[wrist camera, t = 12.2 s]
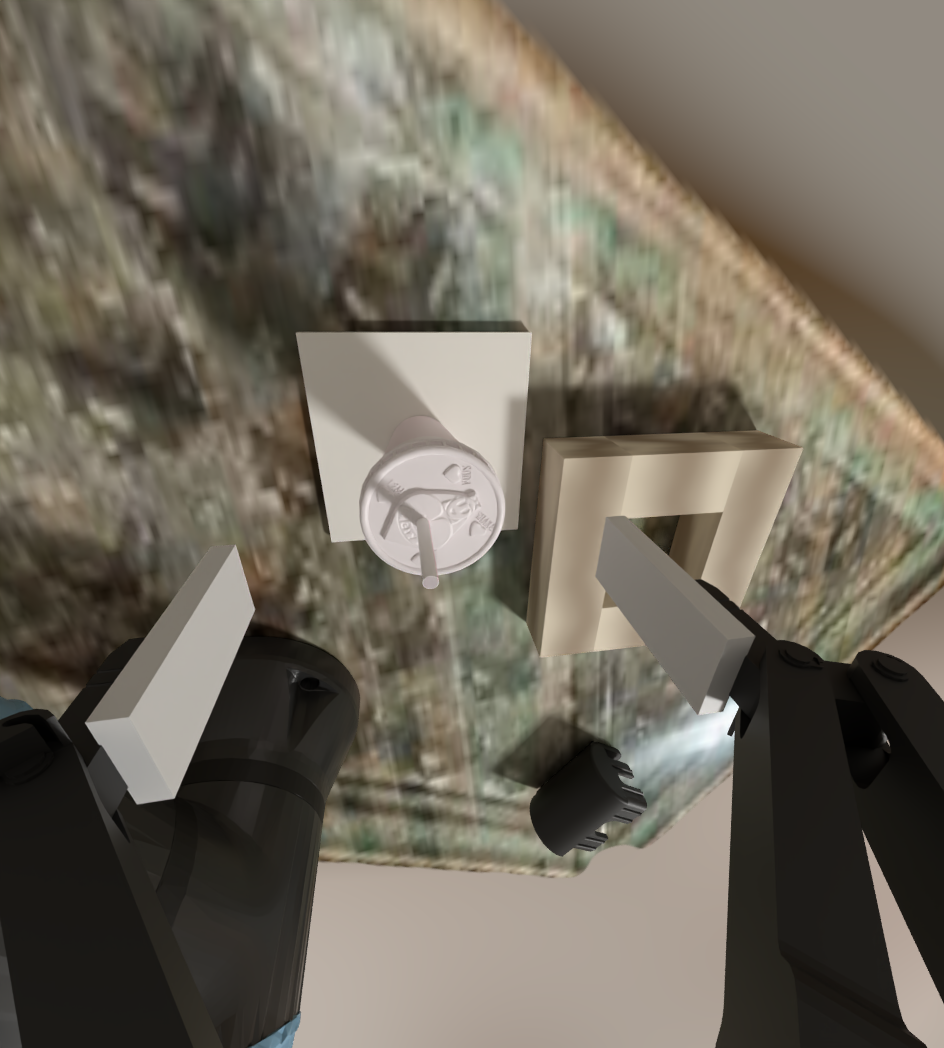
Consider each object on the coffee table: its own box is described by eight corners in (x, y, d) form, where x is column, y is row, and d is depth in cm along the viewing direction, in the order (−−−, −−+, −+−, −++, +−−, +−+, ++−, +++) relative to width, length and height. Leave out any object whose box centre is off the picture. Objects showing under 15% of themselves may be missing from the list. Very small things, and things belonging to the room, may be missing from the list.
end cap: (579, 730, 45) (607, 797, 39) (623, 747, 47) (656, 811, 41) (520, 784, 48) (538, 853, 42) (565, 797, 50) (587, 863, 45)
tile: (332, 537, 29) (331, 542, 29) (297, 331, 23) (295, 332, 22) (515, 525, 31) (517, 529, 31) (529, 331, 25) (531, 332, 24)
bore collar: (526, 622, 36) (540, 657, 32) (543, 438, 28) (564, 458, 25) (698, 604, 38) (728, 635, 35) (757, 430, 30) (803, 447, 27)
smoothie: (349, 417, 25) (309, 539, 13) (449, 375, 25) (504, 457, 13) (396, 506, 28) (400, 668, 16) (485, 469, 28) (556, 606, 16)
